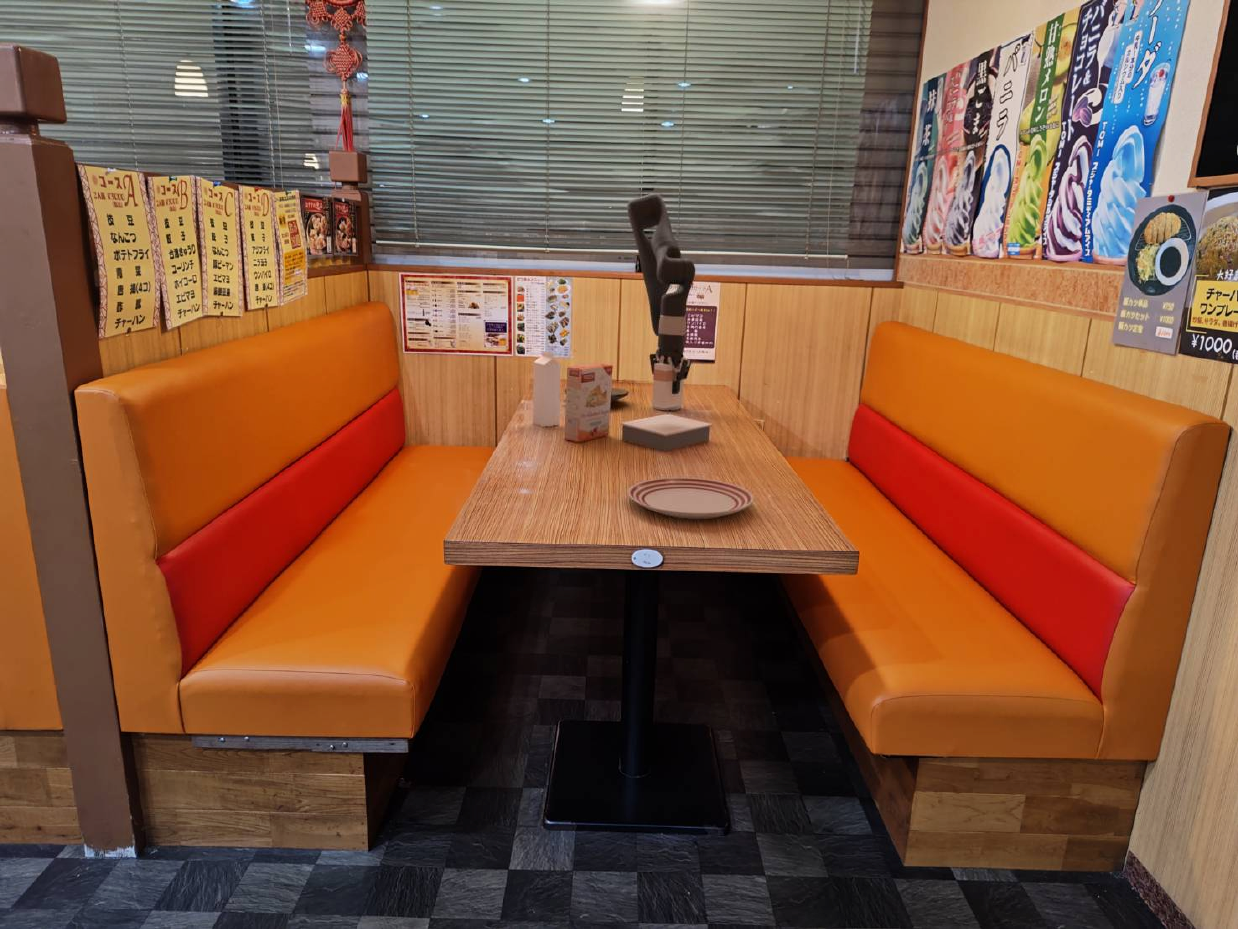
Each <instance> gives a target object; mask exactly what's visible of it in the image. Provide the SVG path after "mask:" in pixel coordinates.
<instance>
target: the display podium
mask: <svg viewBox="0 0 1238 929" xmlns="http://www.w3.org/2000/svg"><path fill="white" fill-rule="evenodd" d="M619 426H622V428H621V430H622V431H621V440H622V441H624V440H625V441H624V442H627V441H631V442H633V443H632V444H635V443H636V444H635V445H640V446H643V447H646V446H647V448H651V449H654V450H658V451H662V452H668V451H671V450H675V449H676V450H678V449H680V448H681V449H682V448H684V446H685V447H689V446H693V445H697V444H702V443H706V442H709V441H710V430H711V429H710V427H712V426H713V423H709V422H705V421H699V420H696V419H691V418H687V417H682V416H678V415H674V414H670V413H665V414H660V415H655V416H650V417H644V418H639V419H633V420H629V421H623V422H620V425H619ZM705 441H706V442H705ZM631 442H630V443H631Z"/></svg>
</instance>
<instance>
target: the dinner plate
mask: <svg viewBox="0 0 1238 929" xmlns="http://www.w3.org/2000/svg"><path fill="white" fill-rule="evenodd" d="M627 495H628V497H629V498H630V499H631V500H632V501H633V502H635V503H637V504H638V505H640V506H641V507H643V508H646V509H648V510H650V511H653V512H656V513H658V512H659V513H658V514H661V513H662V514H661V515H664V514H665V516H667V515H669V516H668V517H671V516H673V517H672V518H676V517H677V519H684V518H688V520H707V519H708V520H709V519H716V518H721V517H723V516H727V515H732V514H735V513H738V512H742V511H743V510H745V509H747V508H748V507H750V506H751V505H752V504H753V502H754V499H755V498H754V495H753V494H752V493H751V492H750V491H749V490H747V489H746V488H743V487H741V486H740V485H739V486H738V485H736V484H733V483H729V482H726V481H720V480H715V479H709V478H700V477H682V476H681V477H680V476H679V477H674V476H673V477H660V478H654V479H648V480H643V481H640V482H638V483H635V484H633V485H632V486H630V487H629V488H628V490H627Z"/></svg>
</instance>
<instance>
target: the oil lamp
mask: <svg viewBox="0 0 1238 929" xmlns="http://www.w3.org/2000/svg"><path fill="white" fill-rule="evenodd" d="M629 393H630V392H629V390H626V389H622V388H613V387H611V403H613V402H617V401H618V400H621V399H622V398H624V397H626V396H628V395H629ZM564 394H565V395H566V388H565V389H564Z"/></svg>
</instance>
